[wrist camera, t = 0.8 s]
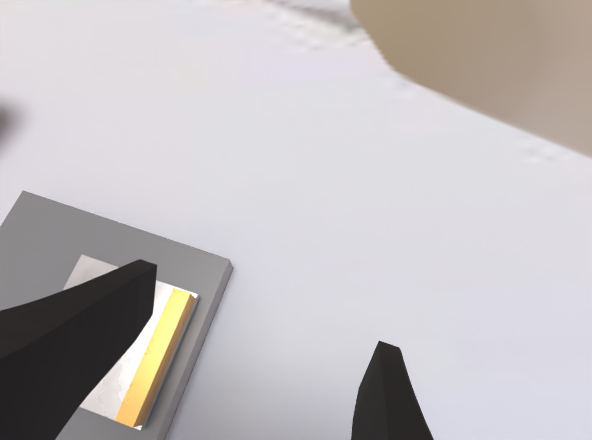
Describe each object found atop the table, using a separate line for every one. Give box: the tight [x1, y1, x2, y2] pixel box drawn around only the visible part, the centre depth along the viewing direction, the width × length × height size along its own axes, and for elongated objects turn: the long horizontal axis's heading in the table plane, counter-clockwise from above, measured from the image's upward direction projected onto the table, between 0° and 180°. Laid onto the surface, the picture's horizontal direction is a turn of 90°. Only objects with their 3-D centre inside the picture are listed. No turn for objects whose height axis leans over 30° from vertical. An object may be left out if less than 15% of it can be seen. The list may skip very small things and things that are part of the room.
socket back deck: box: [0, 191, 119, 311], centre depth 27 cm, size 13×7×2 cm, turn 161°
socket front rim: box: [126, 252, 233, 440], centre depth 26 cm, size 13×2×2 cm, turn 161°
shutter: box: [62, 255, 200, 430], centre depth 24 cm, size 8×8×2 cm
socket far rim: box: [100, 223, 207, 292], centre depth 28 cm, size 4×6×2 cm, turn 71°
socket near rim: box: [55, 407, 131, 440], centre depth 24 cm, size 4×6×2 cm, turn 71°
